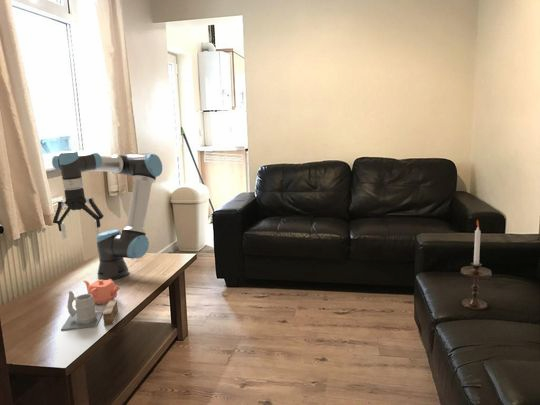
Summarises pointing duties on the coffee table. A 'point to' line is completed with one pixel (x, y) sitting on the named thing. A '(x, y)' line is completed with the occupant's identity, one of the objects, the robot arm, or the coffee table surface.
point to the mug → (82, 308)
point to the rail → (110, 313)
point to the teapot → (102, 291)
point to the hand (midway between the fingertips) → (81, 236)
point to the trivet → (74, 324)
